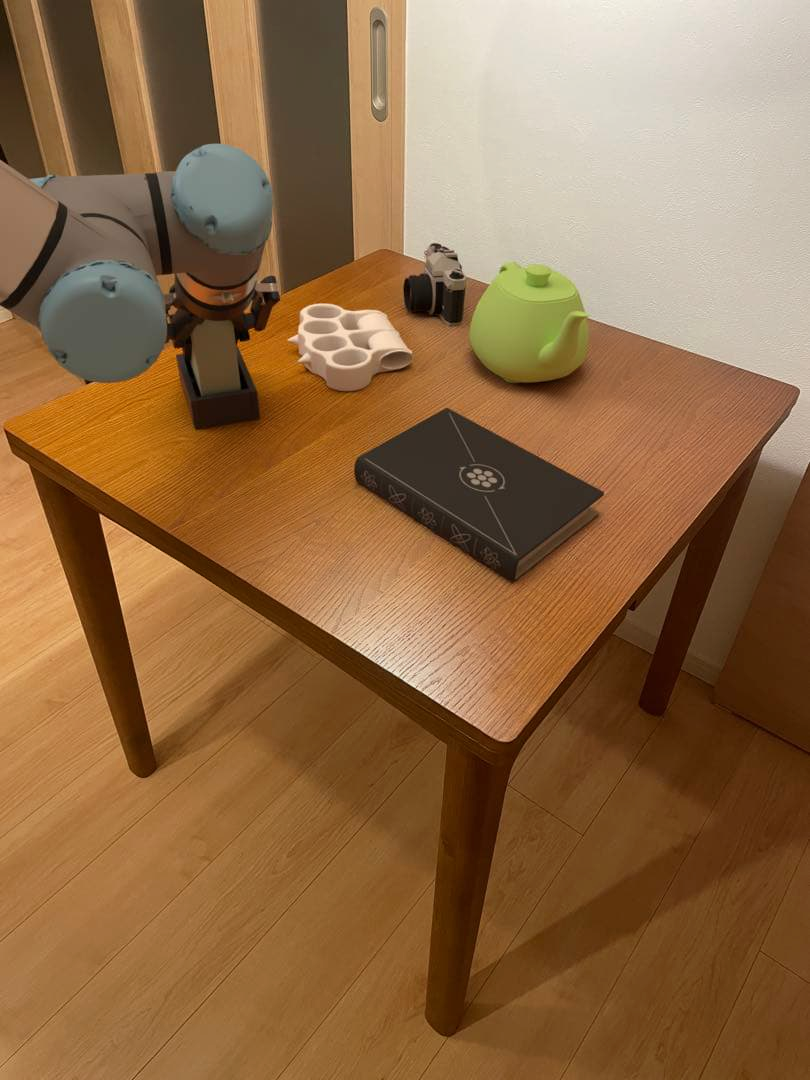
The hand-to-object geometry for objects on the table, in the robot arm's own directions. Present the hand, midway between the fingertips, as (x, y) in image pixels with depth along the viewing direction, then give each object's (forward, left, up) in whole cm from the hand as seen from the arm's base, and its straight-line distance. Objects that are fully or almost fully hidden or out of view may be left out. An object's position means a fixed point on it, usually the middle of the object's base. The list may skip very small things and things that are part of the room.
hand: (207, 346), depth 96 cm
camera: (+34, +12, -5) cm, 37 cm away
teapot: (+40, -8, -5) cm, 41 cm away
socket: (0, -4, -5) cm, 6 cm away
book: (+22, -31, -5) cm, 38 cm away
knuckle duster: (+18, +2, -5) cm, 19 cm away
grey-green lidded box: (0, -4, -3) cm, 5 cm away
